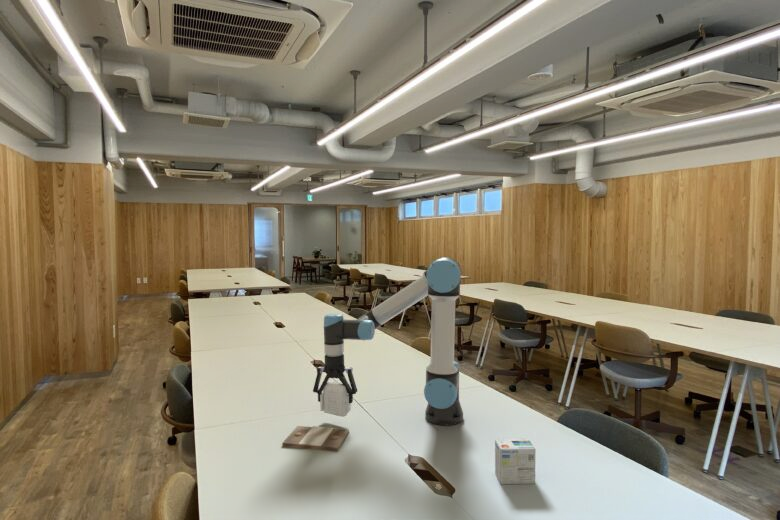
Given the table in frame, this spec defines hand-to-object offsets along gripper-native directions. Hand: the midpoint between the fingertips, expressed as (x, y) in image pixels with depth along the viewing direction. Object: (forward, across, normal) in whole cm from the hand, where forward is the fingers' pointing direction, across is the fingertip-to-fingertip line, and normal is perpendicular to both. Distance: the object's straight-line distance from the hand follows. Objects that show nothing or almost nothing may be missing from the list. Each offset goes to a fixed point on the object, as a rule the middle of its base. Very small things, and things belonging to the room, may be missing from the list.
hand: (335, 410), depth 171 cm
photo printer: (+1, 0, 0) cm, 1 cm away
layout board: (+5, +3, +15) cm, 16 cm away
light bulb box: (+6, -64, +29) cm, 71 cm away
